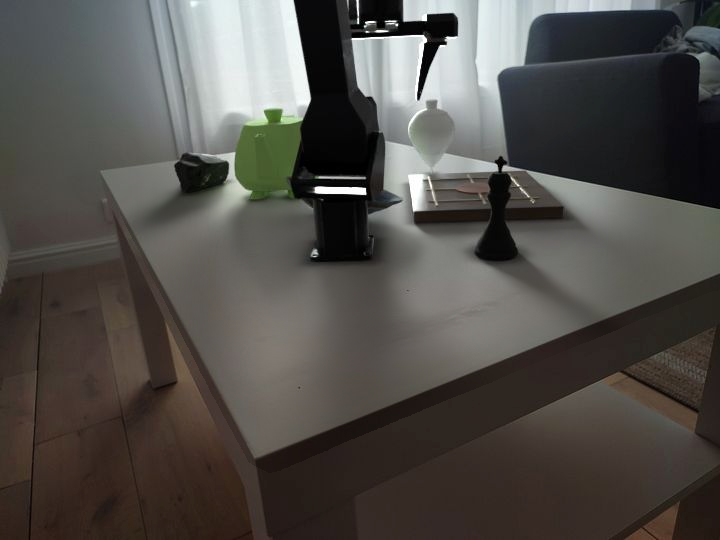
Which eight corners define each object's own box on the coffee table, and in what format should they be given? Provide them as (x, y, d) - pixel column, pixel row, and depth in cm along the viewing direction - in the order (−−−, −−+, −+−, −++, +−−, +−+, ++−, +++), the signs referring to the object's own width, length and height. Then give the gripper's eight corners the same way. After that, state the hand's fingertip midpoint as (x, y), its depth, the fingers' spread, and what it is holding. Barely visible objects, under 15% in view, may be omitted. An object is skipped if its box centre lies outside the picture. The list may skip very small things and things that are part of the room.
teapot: (312, 208, 73) (304, 115, 68) (219, 210, 75) (204, 119, 70) (333, 176, 92) (327, 100, 87) (258, 178, 93) (248, 103, 88)
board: (562, 218, 64) (564, 205, 63) (413, 222, 65) (413, 210, 65) (524, 179, 82) (525, 169, 82) (408, 184, 84) (408, 174, 83)
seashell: (276, 236, 63) (272, 195, 61) (292, 207, 75) (288, 171, 73) (404, 231, 63) (404, 189, 61) (400, 202, 74) (399, 166, 72)
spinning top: (463, 173, 88) (465, 98, 84) (425, 180, 85) (425, 103, 80) (436, 166, 95) (436, 96, 90) (400, 172, 91) (398, 100, 87)
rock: (162, 186, 90) (155, 152, 88) (207, 176, 96) (202, 144, 94) (192, 196, 84) (186, 160, 81) (239, 184, 89) (234, 150, 87)
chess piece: (495, 242, 57) (500, 149, 54) (527, 254, 54) (534, 155, 50) (465, 251, 55) (467, 156, 51) (495, 264, 52) (501, 162, 48)
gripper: (448, -27, 71) (446, 94, 77) (311, -20, 72) (319, 100, 78) (460, -42, 61) (457, 100, 67) (299, -33, 62) (310, 107, 68)
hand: (383, 101), depth 70 cm, fingers open, 9 cm apart
